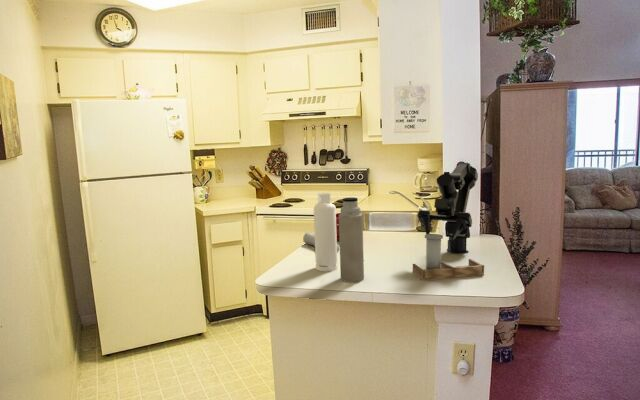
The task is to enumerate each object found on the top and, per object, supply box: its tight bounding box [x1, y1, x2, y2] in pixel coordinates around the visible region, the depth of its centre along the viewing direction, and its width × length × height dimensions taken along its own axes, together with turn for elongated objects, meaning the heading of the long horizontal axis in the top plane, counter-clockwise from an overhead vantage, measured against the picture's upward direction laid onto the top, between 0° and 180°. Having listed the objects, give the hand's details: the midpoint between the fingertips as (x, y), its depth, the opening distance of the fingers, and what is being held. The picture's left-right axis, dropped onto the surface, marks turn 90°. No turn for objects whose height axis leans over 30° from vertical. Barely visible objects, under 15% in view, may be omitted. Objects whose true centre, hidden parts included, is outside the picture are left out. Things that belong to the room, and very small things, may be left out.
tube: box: [302, 232, 340, 254], centre depth 195 cm, size 5×5×25 cm
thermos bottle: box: [339, 197, 365, 283], centre depth 150 cm, size 8×8×28 cm
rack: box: [412, 258, 485, 282], centre depth 153 cm, size 22×9×3 cm, turn 100°
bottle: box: [313, 192, 338, 272], centre depth 163 cm, size 8×8×28 cm
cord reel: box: [424, 233, 444, 270], centre depth 151 cm, size 6×6×13 cm
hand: (439, 237), depth 158 cm, fingers open, 9 cm apart
